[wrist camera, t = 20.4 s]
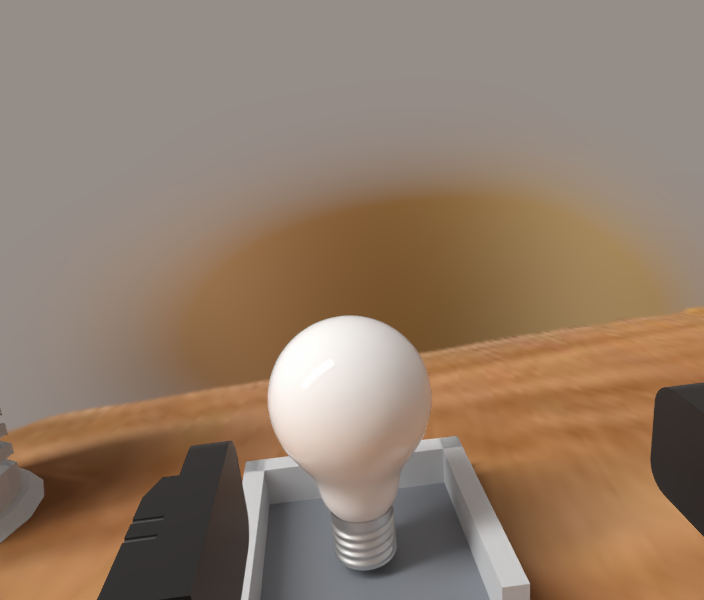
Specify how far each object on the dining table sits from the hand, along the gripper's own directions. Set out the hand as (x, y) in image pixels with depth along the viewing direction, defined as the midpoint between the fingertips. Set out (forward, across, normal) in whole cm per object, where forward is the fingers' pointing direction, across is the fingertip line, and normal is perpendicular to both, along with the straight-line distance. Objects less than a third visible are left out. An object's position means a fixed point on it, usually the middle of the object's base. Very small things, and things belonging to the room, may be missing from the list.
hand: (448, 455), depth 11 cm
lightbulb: (+10, +2, +12) cm, 16 cm away
